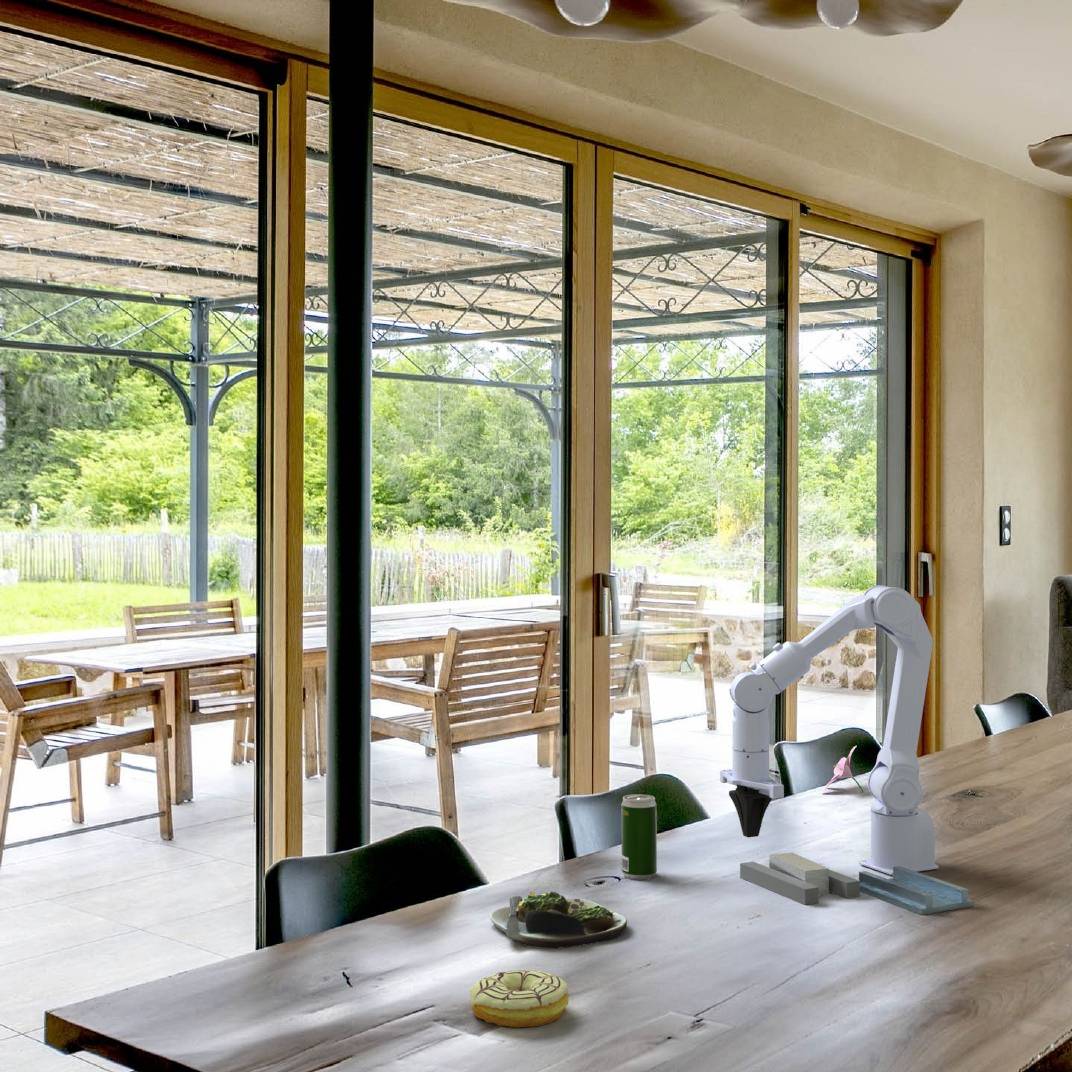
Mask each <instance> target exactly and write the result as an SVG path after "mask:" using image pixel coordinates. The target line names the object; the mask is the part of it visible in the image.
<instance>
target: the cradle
mask: <svg viewBox="0 0 1072 1072" xmlns="http://www.w3.org/2000/svg"><path fill="white" fill-rule="evenodd" d="M858 880H859V881H860V893H864V894H866V895H868V896H871V897H874V898H877V899H880V900H881V901H885V902H887V903H890V904H893V905H895V906H898V907H900V908H903V909H906V910H908V911H910V912H914V913H917V914H919V915H921V916H922V915H923V916H924V915H929V914H936V913H941V912H946V911H952V910H953V911H954V910H958V909H963V908H965V909H966V908H970V907H972V906H973V905H972V904H973V902H972V900H971V899H969V895H968V894H969V889H968V888H966V887H962V886H959V885H957V884H953V883H950V882H947V881H945V880H942V879H939V878H935V877H934V876H930V875H926V874H924V873H921V872H919V871H918V872H915V871H913V870H910V869H907V868H904V867H901V866H896V867H893V875H892V878H886V877H883V876H880V875H877V874H874V873H872V872H869V871H865V870H863V871H859V872H858Z"/></svg>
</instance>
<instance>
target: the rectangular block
mask: <svg viewBox="0 0 1072 1072" xmlns="http://www.w3.org/2000/svg"><path fill="white" fill-rule="evenodd" d="M768 859H769V860H768V863H769V864H768V867H769V868H771V869H774V870H776V871H779V872H781V873H784V874H786V875H789V876H791V877H794V878H796V879H799V880H802V881H804V882H807V883H809V884H812V885H814V886H817V887H819V897H820V896H825V895H826V896H827V895H830V891H829V870H830V867H826V866H824V865H821V864H819V863H818V862H815V861H812V860H811V859H808V858H806V857H803V856H802V855H799V854H797V853H794V852H785V853H774V854H769V857H768Z"/></svg>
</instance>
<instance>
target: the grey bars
mask: <svg viewBox="0 0 1072 1072" xmlns="http://www.w3.org/2000/svg"><path fill="white" fill-rule="evenodd" d="M739 878H740V879H742V880H745V881H748V882H750V883H752V884H754V885H756V886H759V887H761V888H764V889H766V890H769V891H771V892H773V893H776V894H778V895H781V896H783V897H786V898H788V899H790V900H792V901H794V902H797V903H800V904H802V905H804V906H807V905H813V904H819V903H820V901H819V900H820V896H819V887H817V886H814V885H812V884H809V883H807V882H804V881H802V880H799V879H796V878H794V877H791V876H789V875H786V874H784V873H781V872H779V871H776V870H774V869H771V868H769V866H767V865H763V864H761V863H758V862H755V861H747V862H740V863H739ZM829 893H832V894H835V895H837V896H840V897H843V898H846V899H849V898H856V897H860V896H861V892H860V881H859V879H855V878H853V877H851V876H848V875H846V874H843V873H840V872H837V871H834V870H832V869H829Z"/></svg>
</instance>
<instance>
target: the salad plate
mask: <svg viewBox="0 0 1072 1072" xmlns="http://www.w3.org/2000/svg"><path fill="white" fill-rule="evenodd" d="M489 915H490V916H489V917H490V921H491V922H492V923H493V925H494V926H495V927H496V928H497V929H498V930H500V931H502V932H503V933H505V934H506V936H507V938H510V939H511V940H513V941H515V942H517V943H518V944H521V945H524V946H527V947H532V948H539V947H540V948H542V949H560V948H559V947H564V948H571V947H572V946H573V947H578V946H579V945H580V946H584V945H583V944H586V945H590V944H591V943H592V944H596V942H598V943H602V941H603V942H607V941H610V940H613V939H616V938H617V937H619V936H621V935H622V934H623V933H624V932H625V930H626V928H627V927H628V926H627V925H628V920H627V917H625V916H624V915H622V914H620V913H617V912H615V911H612V910H611V909H609V908H606V907H605V906H604V905H601V904H599V903H597V902H595V901H593V900H590V899H584V898H578V897H577V898H573V897H571V898H570V897H565V896H564V895H562V894H560V893H558V892H556V891H552V890H550V891H549V892H545V893H542V894H536V893H535V892H534V891H530V892H529V894H527V897H526V898H524V899H523V897H522V896H520V895H515V896H511V897H510V898H509V904H508V906H505V907H501V908H498V909H495V910H494V911H493V912H492V913H491V914H489ZM592 944H591V945H592ZM580 946H579V947H580Z"/></svg>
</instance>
